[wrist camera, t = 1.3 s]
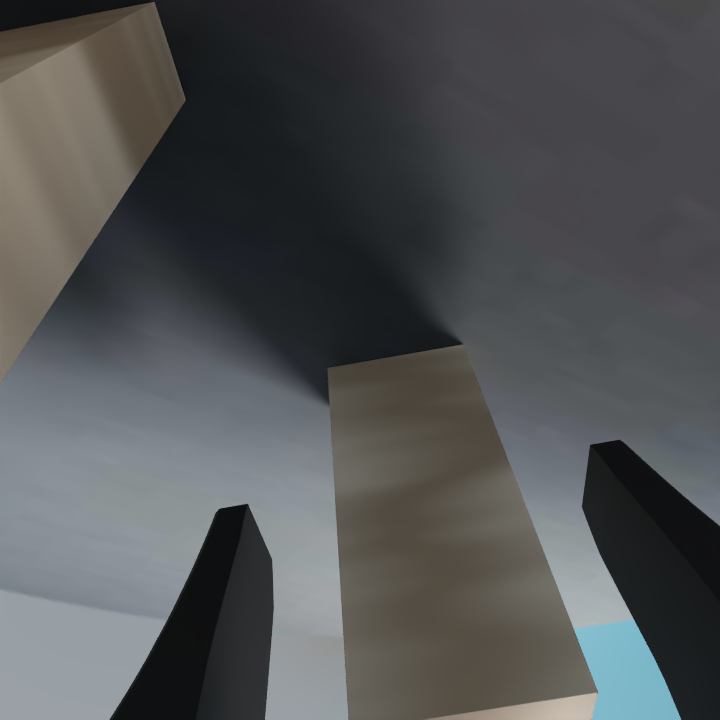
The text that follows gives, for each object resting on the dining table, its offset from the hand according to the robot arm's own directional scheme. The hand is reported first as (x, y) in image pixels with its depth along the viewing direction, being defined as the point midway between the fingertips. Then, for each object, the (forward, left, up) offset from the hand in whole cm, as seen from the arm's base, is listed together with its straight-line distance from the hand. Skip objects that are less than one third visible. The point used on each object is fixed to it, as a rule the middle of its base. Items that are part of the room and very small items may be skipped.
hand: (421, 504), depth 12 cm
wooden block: (0, 0, -4) cm, 4 cm away
